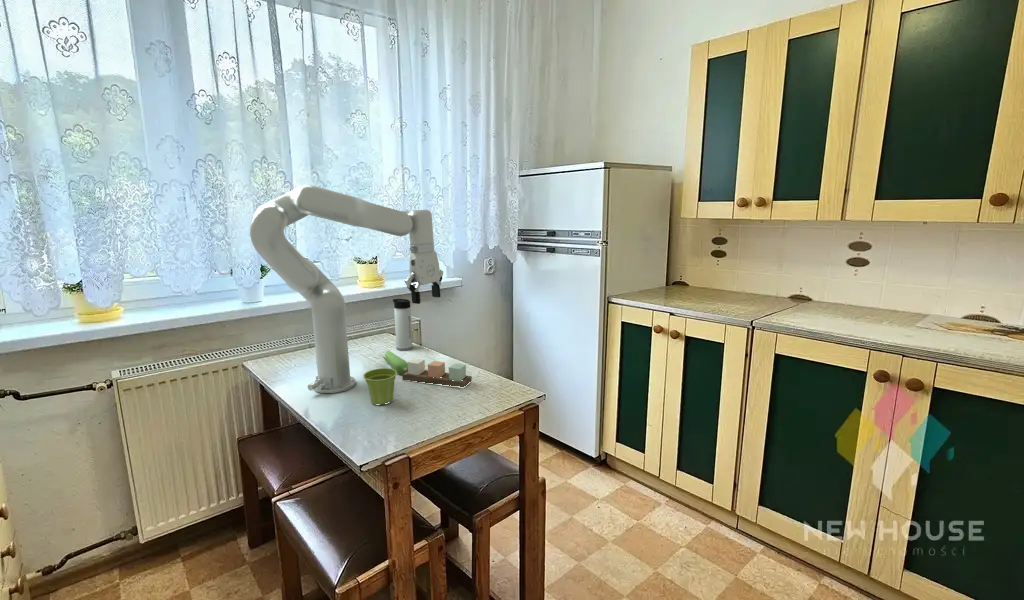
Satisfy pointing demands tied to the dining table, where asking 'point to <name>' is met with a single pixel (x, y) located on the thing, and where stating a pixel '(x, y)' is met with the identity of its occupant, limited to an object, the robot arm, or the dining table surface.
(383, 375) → the plant pot
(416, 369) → the ivory block
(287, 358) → the dining table surface
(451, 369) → the sage block
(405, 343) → the travel mug
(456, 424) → the dining table surface
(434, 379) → the button board
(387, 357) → the edible corn
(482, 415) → the dining table surface
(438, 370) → the terracotta block
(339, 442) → the dining table surface
